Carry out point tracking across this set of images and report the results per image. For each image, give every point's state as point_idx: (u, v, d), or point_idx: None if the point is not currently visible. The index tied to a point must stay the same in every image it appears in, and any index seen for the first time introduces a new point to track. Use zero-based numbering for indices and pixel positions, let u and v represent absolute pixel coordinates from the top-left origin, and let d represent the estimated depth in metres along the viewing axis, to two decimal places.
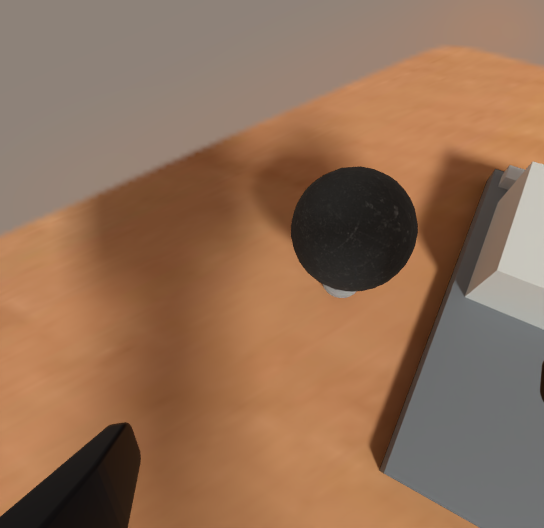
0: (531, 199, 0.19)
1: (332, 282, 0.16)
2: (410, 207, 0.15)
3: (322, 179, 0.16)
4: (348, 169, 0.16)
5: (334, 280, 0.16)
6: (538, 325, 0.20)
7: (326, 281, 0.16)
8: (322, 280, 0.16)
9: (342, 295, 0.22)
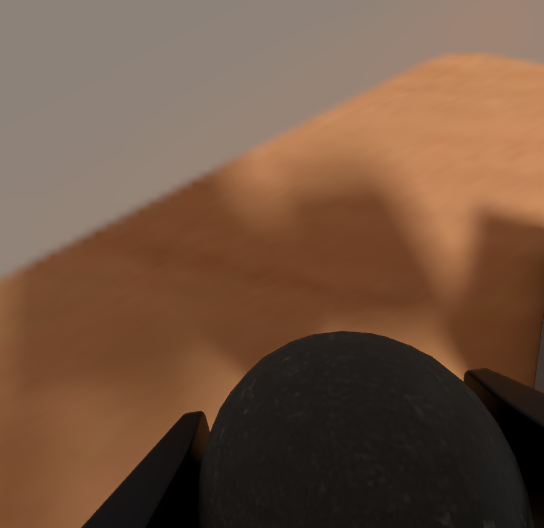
0: None
1: None
2: (517, 484, 0.05)
3: (261, 396, 0.06)
4: (329, 373, 0.06)
5: None
6: None
7: None
8: None
9: None
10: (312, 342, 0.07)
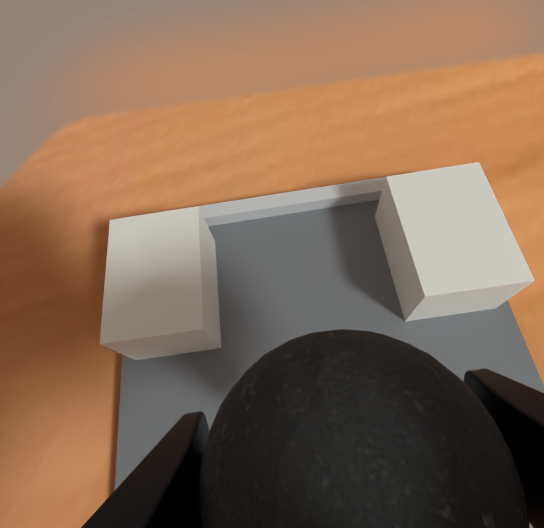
0: (115, 256, 0.20)
1: None
2: (514, 477, 0.05)
3: (262, 392, 0.06)
4: (330, 369, 0.06)
5: None
6: (200, 349, 0.21)
7: None
8: None
9: None
10: (312, 339, 0.07)
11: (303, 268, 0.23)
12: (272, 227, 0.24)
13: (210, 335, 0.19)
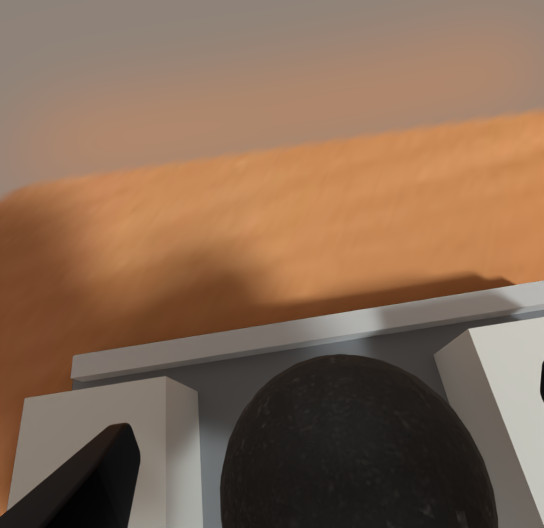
0: (27, 475, 0.12)
1: None
2: (484, 482, 0.06)
3: (276, 412, 0.07)
4: (332, 393, 0.07)
5: None
6: None
7: None
8: None
9: None
10: (316, 365, 0.08)
11: None
12: (281, 369, 0.16)
13: None
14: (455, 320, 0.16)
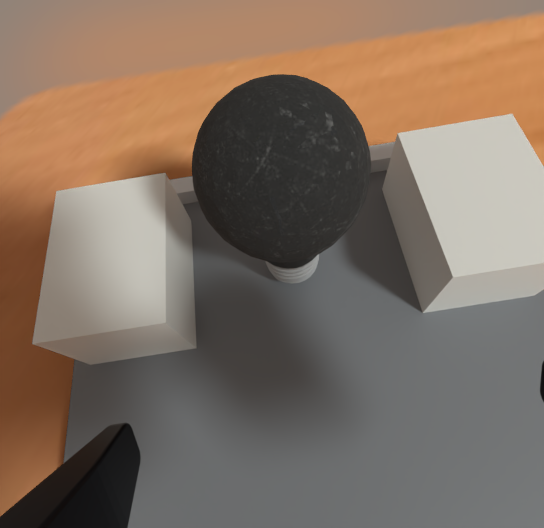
0: (60, 235, 0.16)
1: (253, 246, 0.11)
2: (353, 120, 0.10)
3: (224, 97, 0.11)
4: None
5: (254, 241, 0.10)
6: (170, 351, 0.17)
7: (245, 246, 0.11)
8: (241, 246, 0.11)
9: (294, 279, 0.17)
10: None
11: None
12: None
13: (178, 331, 0.15)
14: None
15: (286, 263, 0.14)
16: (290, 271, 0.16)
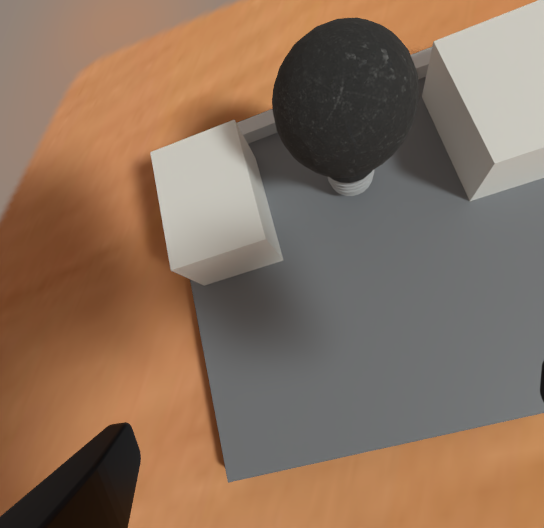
0: (165, 187, 0.20)
1: (332, 166, 0.14)
2: (402, 48, 0.13)
3: (292, 49, 0.13)
4: (319, 26, 0.13)
5: (334, 162, 0.14)
6: (263, 265, 0.21)
7: (326, 168, 0.14)
8: (322, 169, 0.14)
9: (355, 191, 0.20)
10: None
11: None
12: None
13: (272, 246, 0.19)
14: None
15: (351, 178, 0.18)
16: (352, 185, 0.19)
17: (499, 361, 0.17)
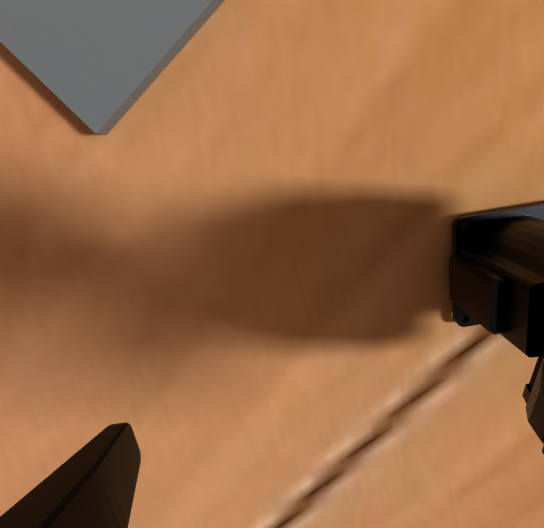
0: None
1: None
2: None
3: None
4: None
5: None
6: None
7: None
8: None
9: None
10: None
11: None
12: None
13: None
14: None
15: None
16: None
17: None
